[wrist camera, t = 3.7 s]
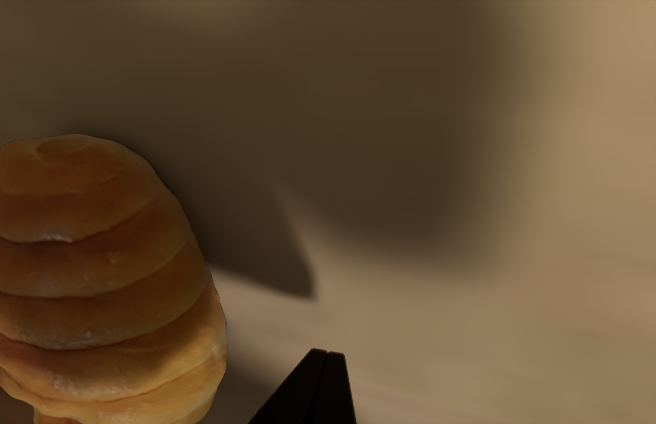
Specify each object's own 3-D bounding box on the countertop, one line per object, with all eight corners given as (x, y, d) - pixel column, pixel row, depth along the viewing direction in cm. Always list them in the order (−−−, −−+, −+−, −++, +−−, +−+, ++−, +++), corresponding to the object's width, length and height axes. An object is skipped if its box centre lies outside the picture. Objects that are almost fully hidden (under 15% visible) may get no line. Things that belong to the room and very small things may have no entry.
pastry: (-15, 108, 10) (-222, 162, 7) (223, 138, 9) (114, 219, 6) (82, 346, 15) (-11, 445, 12) (245, 382, 14) (192, 501, 11)
